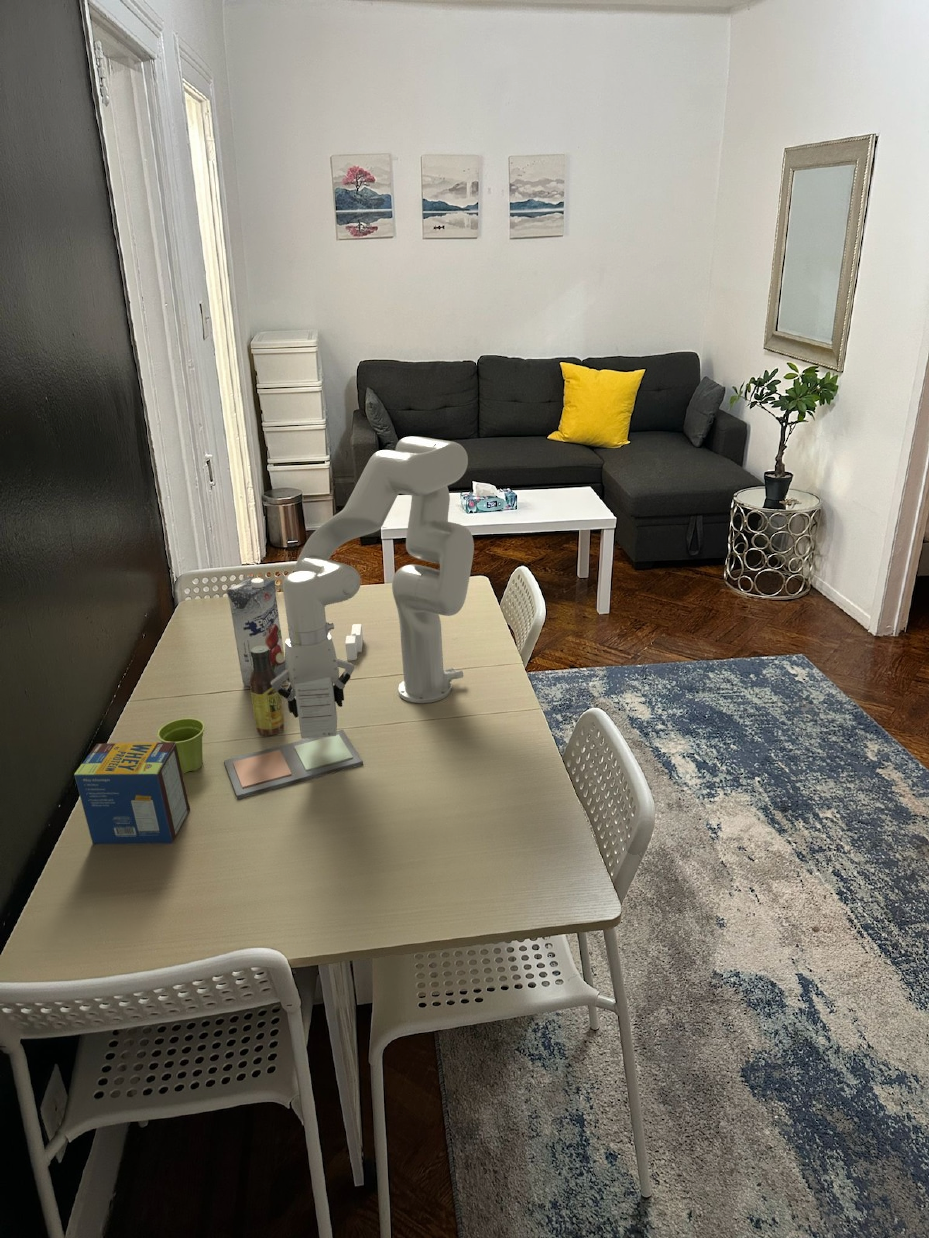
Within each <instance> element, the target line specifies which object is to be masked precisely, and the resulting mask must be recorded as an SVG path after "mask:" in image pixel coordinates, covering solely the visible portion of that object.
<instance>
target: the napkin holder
mask: <svg viewBox="0 0 929 1238" xmlns="http://www.w3.org/2000/svg"><path fill="white" fill-rule="evenodd" d="M363 636H364V635H363V625H362V623H357V624H356V623H355V624H354V623H353V624H352V627H351V633H350V635H346V638H345V651H346V652H345V653H346V654H345V655H346V661H357V658H358V653H362V651H363V646H364V645H363V643H364V637H363Z"/></svg>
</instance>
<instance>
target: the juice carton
mask: <svg viewBox="0 0 929 1238" xmlns="http://www.w3.org/2000/svg"><path fill="white" fill-rule="evenodd" d="M226 594H227V597H228V601H229V608H230V613H231V619H232V624H233V626H232V627H233V632H234V637H235V644H236V650H237V656H238V661H239V663H238V664H239V670H240V676H241V680H242V683H243V684H242V685H244V686H245V687H250V688H251V685H250V676H251V674H252V672H253V669H254V668H253V660H252V656H251V652H250V650H251V649H252V648H253V647H256V646H261V645H264V646H267V647H269V650H270V663H271V667H272V668H273V670H274V672H275V674H276V676H278V675H280V674H281V673H282V672H284V671H285V670H286V669H285V649H284V643H283V637H282V630H281V629H282V628H281V623H280V615H279V607H278V601H277V593H276V581H275V580H274V579H267V578H259V577H253V576H247V577H246V578H244V579H243V580H242V581H241V582H240V583H238V584H236V585H234V586H232V587H229V588H227V589H226Z"/></svg>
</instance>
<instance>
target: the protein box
mask: <svg viewBox="0 0 929 1238" xmlns="http://www.w3.org/2000/svg"><path fill="white" fill-rule="evenodd" d="M73 774H74V775H73V776H74V779H75V783H76V785H77V790H78V794H79V797H80V802H81V805H82V809H83V812H84V816H85V820H86V824H87V828H88V831H89V832H88V833H89V836H90V839H91V843H92V845H104V844H105V845H107V844H109V845H110V844H111V845H113V844H114V845H115V844H117V845H118V844H124V845H126V844H132V845H133V844H173V843H174V840H175V838H176V837H177V835H178V833H179V831H180V829H181V828H182V825H183V824H184V822H185V820H186V818H187V816H188V815H189V812H190V811H191V808H190V803H189V798H188V793H187V789H186V784H185V779H184V775H183V773H182V770H181V765H180V760H179V756H178V751H177V746H176V743H175V742H120V743H118V742H116V743H96V744H95V746H94V747H93V748H92V750H91V751H90V753H89V754H88V755H87V756H86V758H85V760H83V762H82V763H81V764H80V766H79V767H78V768H77V769H76V771H75V772H74V773H73Z"/></svg>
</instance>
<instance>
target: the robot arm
mask: <svg viewBox="0 0 929 1238" xmlns="http://www.w3.org/2000/svg"><path fill="white" fill-rule="evenodd" d="M468 465H469V458H468V453H467V451H466V449H465V448H464V447H463V445H461V443H458V442H456V441H450V440H444V439H437V438H431V437H424V436H406V437H403V438H401V439H399V440H398V442H397V444H396V446H395V450H393V449H382V450H378V451H376V452H374V453H373V454H372V456H371V457H370V458H369V459H368V462H367V464H366V466H365V467H364V469H363V471H362V473H361V475H360V477H359V478H358V481H357V482H356V485H355V487H354V489H353V491H352V493H351V495H350V496H349V498H348V500H347V501H346V503H345V506H344V507H343V508H342V510H341V511H339V512H338V513H336V514H335V515H333V516H332V517H330V518H329V519H327V520H326V521H325V522H324V523H323V524H322V525H320V526H319V527H318V528H317V529H315V531H313V533H312V534H311V535H310V536H309V537H308V539H307V540H306V542H305V544H304V546H303V547H302V550H301V551H300V554H299V556H298V558H297V561H296V563H295V566H294V570H293V572H291V573H290V574H287V575H286V576H285V577H284V578H283V580H282V581H283V582H282V590H283V597H284V598H283V599H284V606H285V613H286V614H285V615H286V623H287V630H288V637H289V638H287V639H286V640H285V644H284V657H285V669H286V670H285V671H284V672H282V673H281V674H280V675H278V676H277V677H276V678H275V679H273V680H272V681H271V685H272V687H273V688H274V689H275V690H276V691H277V692H278V693H279V694H280V695H281V697H283V698H285V699H286V700H287V709H288V712H289V713H290V714H292V715H293V716H294V718H296V719H297V718H298V711H297V703H296V695H295V687H294V685H296V684H300V683H305V682H309V681H314V680H318V679H322V678H327V677H331V682H333V685H334V686H333V687H334V695H335V703H336V706H338V707H339V708H341V707H343V702H344V701H345V694H344V689H345V687H346V685H347V683H348V682H349V681H350V679H351V677H352V676H351V675H352V674H353V672H354V670H355V665H354V664H353V663H351V662H350V661H347V660H342V659H338V658H337V653H336V649H335V646H334V641H333V638H332V636H331V633H330V631H332V630H334V629H335V624H334V623H333V622H327V617H326V606H330V605H334V604H338V603H343V602H345V601H348V600H351V598H353V597H355V596H356V594H358V592H359V589H360V588H361V585H362V584H361V583H362V579H361V575H360V573H359V572H358V571H357V569H355V568H354V567H352V566H351V565H348V564H345V563H343V562H339V561H335V560H332V559H330V558H331V556H332V555H333V554H334V552H335V551H336V550H337V549H339V548H340V547H341V546H342V545H344V544H345V543H347V542H349V541H352V540H354V539H357V538H360V537H364V536H367V535H370V534H374V533H376V532H378V531H379V530H381V529H382V528H383V526H384V524H385V521H386V519H387V518H388V516H389V513H390V511H391V509H392V507H393V505H394V503H395V501H396V499H397V497H398V496H399V495H400V494H401V495H407V496H411V502H410V508H409V509H410V510H409V517H408V523H407V529H406V538H405V549H406V551H407V553H408V554H409V555H410V556H411V557H413V558H416V559H418V560H421V561H425V562H429V563H433V564H438V565H439V569H436V568H432V567H430V566H425V565H420V564H406V565H404V566H401V567H400V568H399V569H398V570H397V571H396V572H395V573H394V575H393V578H392V582H391V589H392V595H393V599H394V602H395V605H396V609H397V613H398V620H399V622H398V623H399V631H400V633H399V635H400V647H401V657H402V658H401V659H402V670H403V671H402V672H403V680H402V681H401V682H400V683H399V685H398V686H397V693H398V696H399V697H400V698H401V699H403V700H405V701H406V702H410V703H414V704H430V703H434V702H435V703H436V702H438V701H441V700H443V699H444V698H447V696H448V695H450V693H451V691H452V684H451V682H452V680H457V679H462V678H464V672H463V670H462V669H459V670H455V669H454V667H449V668H447V669H444V654H443V638H442V636H443V635H442V623H441V618H440V615H441V616H445V617H451V616H455V615H456V614H458V613H459V612H461V610H462V608H463V607H464V604H465V602H466V599H467V594H468V589H469V584H470V583H469V582H470V577H471V571H472V565H473V560H474V551H475V544H474V543H475V541H474V538H473V535H472V533H471V530H469V528H467V527H466V526H464V525H462V524H460V523H456V522H451V521H449V512H450V511H449V510H450V504H451V503H450V501H451V498H450V496H451V495H450V491H449V488H448V486H450V485H452V484H455V483H457V482H459V480H460V479H461V478H462V477H463V476H464V475H465V473H466V471H467V469H468ZM340 668H341V669H344V671H343V673H341V675H340ZM285 681H287V683H289V684H288V686H287V687H286V688H285V687H284V686H281V685H282V684H283V683H284V682H285Z"/></svg>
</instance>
